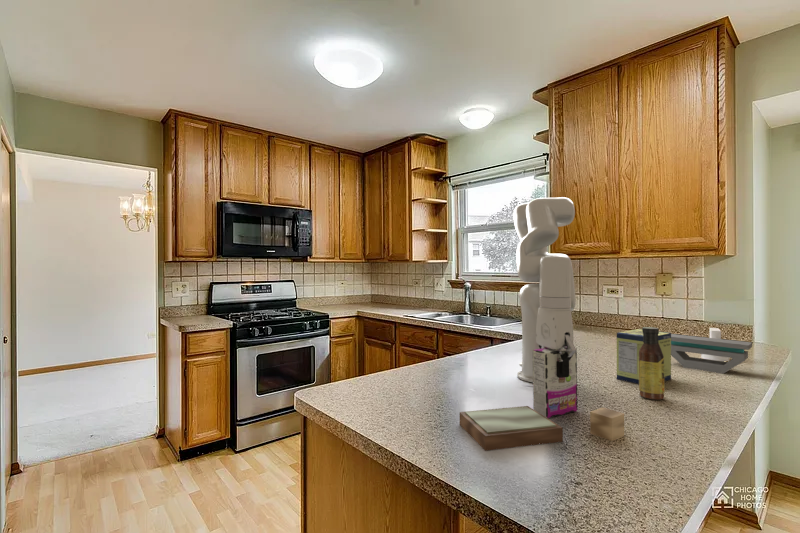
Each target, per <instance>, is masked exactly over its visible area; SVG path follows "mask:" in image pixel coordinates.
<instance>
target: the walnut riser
mask: <svg viewBox="0 0 800 533" xmlns="http://www.w3.org/2000/svg"><path fill="white" fill-rule="evenodd" d="M459 426H460V427H461V428H462V429H463V430H464V431H465V432H466V433H467V434H468V435H469V436H470V437H471V438H472V439H473V440H474V441H475V442H476V443H477V444H478V445H479V447H481V448H482V449H483V450H484V451H485V452H487V451H495V450H503V449H511V448H518V447H519V448H521V447H529V446H538V445H547V444H555V443H556V444H557V443H563V442H564V428H563V426H561V425H559V424H557V423H556V422H555V421H552V419H550V418H546V417H545V416H543V415H542V414H540V413H538V412H537V411H535V410H534V408H533V407H530V405H529V406H528V405H524V406H512V407H503V408H502V407H500V408H499V407H498V408H492V409H491V408H490V409H489V408H488V409H478V410H467V411H459Z"/></svg>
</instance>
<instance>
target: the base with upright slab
mask: <svg viewBox="0 0 800 533" xmlns="http://www.w3.org/2000/svg"><path fill="white" fill-rule="evenodd" d="M708 338H716V339H722V330H721V329H720V328H718V327H709V337H708ZM700 358H703V359H709V360H716V361H730V358H729V357H721V356H713V355H706V354H700Z"/></svg>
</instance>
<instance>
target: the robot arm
mask: <svg viewBox="0 0 800 533" xmlns="http://www.w3.org/2000/svg"><path fill="white" fill-rule="evenodd" d="M575 215H576V210H575V205H574V202H573V201H572V200H571V199H570V198H568V197H564V196H561V197H559V196H558V197H539V198H533V199H532V200H530V201H529V202H523V203H521V204H518V205H517V206H516V207H515V208H514V210H513V224H514V228H515V231H516V233H517V236H518V239H519V241H520V242H519V243H518V245H517V248H516V253H515V255H516V256H515V258H516V259H515V260H516V272H517V276H518V278H519V279H520V280H521V281H522V282H524V283H527V284H525V285H524V286H522V287H521V288H520V290H519V294H518V296H519V303H520V312H521V326H522V327H521V330H522V331H521V332H522V334H521V335H522V336H521V337H522V338H521V342H522V343H521V345H522V347H521V348H522V349H521V351H522V352H521V354H522V355H521V356H522V358H521V360H522V361H521V362H519V364H518V365H519V367H521V371H518V372H517V374H516V375H517V378H518V379H519V380H521V381H525V382H528V383H533V350H536V349H542V348H549V349H552V350H556V351H557V356H558V360H559V361H557V377H558V378H563V377H569V362H570V361H571V358H572V356H573V354H574V353H575V352H576V346H575V344H574V323H573V316H572V312H573V311H574V310H575V307H576V289H575V288H576V286H575V278H574V268H573V263H572V259H571V257H570V256H569V255H567V254H564V253H549V252H548V246H551V245H553V244H554V243H555V242H556V241H557V240H558V238H559V235H560V232H559V231H560V230H559V227H565V226H568V225H570V224H571V223H572V222H573V221H574V219H575ZM561 348H563V349H561ZM563 351H564V352H565V353H564V354H563V355H562V352H563Z"/></svg>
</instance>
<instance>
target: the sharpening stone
mask: <svg viewBox="0 0 800 533" xmlns="http://www.w3.org/2000/svg"><path fill="white" fill-rule="evenodd" d="M752 347H753V341H751V342H750V341H743V340H733V339H723V338H721V339H716V338H709V337H705V336H695V335H685V334H676V333H671V358H673V359H674V360H676V362H678V364H680V365H681V366H682V367H683V369H691V370H696V371H697V370H698V371H702V370H703V372H704V371H705V372H708V373H715V372H716V374H725V373H727V372H729V371H730V370H732V369H733V368H735V367H737V366H738V365H740V364H742V363H743V362H745V361H746V360H747V359H748V358H749V350H750V349H752ZM688 353H692V354H699V355H701V354H706V355H713V356H721V357H729V361H728V362H724V361H716V360H709V359H702V358H701V357H700V358H699V357H693V356H690V355H688ZM730 358H731V359H730Z"/></svg>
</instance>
